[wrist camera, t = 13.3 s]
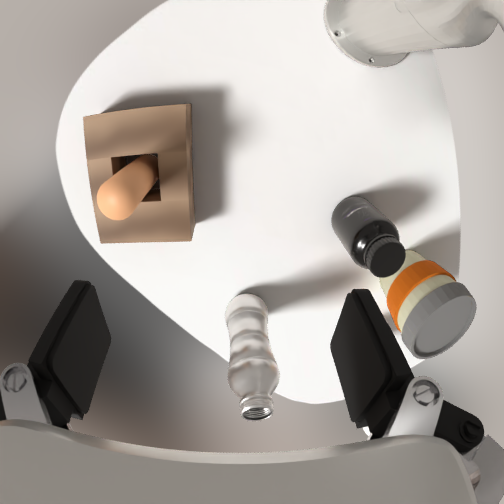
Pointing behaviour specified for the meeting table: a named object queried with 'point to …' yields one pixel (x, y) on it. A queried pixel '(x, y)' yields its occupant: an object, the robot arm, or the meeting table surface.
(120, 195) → the peg
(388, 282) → the reusable coffee cup
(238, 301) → the plastic bottle
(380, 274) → the supplement bottle
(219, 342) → the meeting table surface
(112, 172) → the socket block
